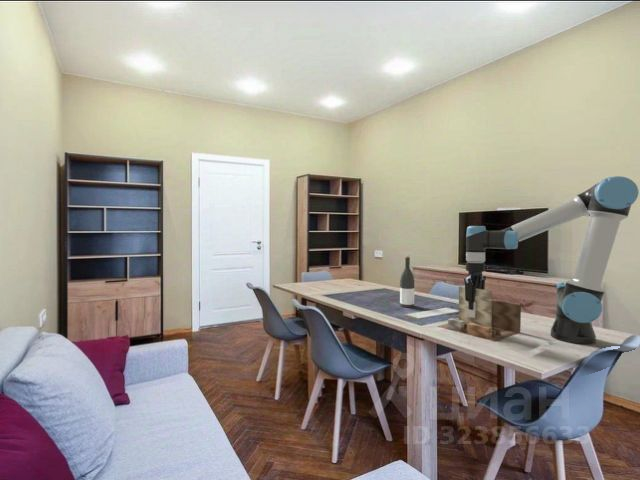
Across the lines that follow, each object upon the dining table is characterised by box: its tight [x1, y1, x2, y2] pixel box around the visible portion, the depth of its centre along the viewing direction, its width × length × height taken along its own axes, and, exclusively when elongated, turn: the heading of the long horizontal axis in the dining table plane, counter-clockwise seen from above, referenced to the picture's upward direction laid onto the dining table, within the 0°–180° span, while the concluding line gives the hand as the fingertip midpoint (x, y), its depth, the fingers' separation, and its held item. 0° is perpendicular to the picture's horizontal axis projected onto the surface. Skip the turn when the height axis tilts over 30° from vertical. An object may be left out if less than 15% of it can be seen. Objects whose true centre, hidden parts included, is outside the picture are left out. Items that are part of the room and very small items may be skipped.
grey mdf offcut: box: [447, 317, 464, 331], centre depth 150 cm, size 6×3×4 cm, turn 36°
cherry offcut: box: [467, 323, 492, 339], centre depth 141 cm, size 9×3×4 cm, turn 36°
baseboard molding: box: [403, 305, 459, 320], centre depth 184 cm, size 31×3×12 cm
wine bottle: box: [399, 254, 415, 308], centre depth 202 cm, size 8×8×30 cm
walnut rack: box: [437, 298, 522, 343], centre depth 150 cm, size 26×21×14 cm
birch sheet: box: [458, 285, 493, 327], centre depth 148 cm, size 14×2×18 cm, turn 36°
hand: (474, 316), depth 148 cm, fingers open, 3 cm apart
